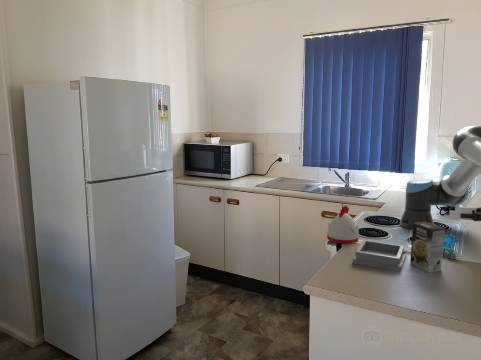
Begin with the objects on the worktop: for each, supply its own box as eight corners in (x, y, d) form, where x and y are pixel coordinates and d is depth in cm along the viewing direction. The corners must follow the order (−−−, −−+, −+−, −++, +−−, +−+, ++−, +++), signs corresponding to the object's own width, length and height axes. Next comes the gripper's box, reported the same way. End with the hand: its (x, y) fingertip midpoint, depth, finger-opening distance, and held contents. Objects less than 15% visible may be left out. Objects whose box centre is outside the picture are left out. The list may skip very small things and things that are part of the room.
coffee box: (409, 263, 146) (412, 222, 143) (422, 261, 148) (425, 220, 145) (428, 273, 138) (431, 229, 135) (442, 270, 140) (445, 227, 137)
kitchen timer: (363, 237, 176) (365, 205, 174) (350, 245, 166) (351, 212, 164) (336, 231, 185) (337, 201, 183) (321, 239, 175) (322, 206, 173)
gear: (430, 243, 163) (450, 229, 159) (440, 253, 163) (460, 239, 159) (436, 256, 153) (458, 241, 149) (446, 266, 153) (469, 252, 149)
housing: (361, 249, 162) (362, 238, 161) (405, 256, 154) (406, 245, 153) (352, 263, 147) (353, 252, 146) (400, 271, 139) (401, 259, 138)
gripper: (527, 233, 115) (446, 227, 127) (526, 223, 135) (457, 219, 147) (527, 208, 115) (447, 205, 127) (527, 201, 135) (457, 199, 147)
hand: (452, 212), depth 137 cm, fingers open, 13 cm apart
